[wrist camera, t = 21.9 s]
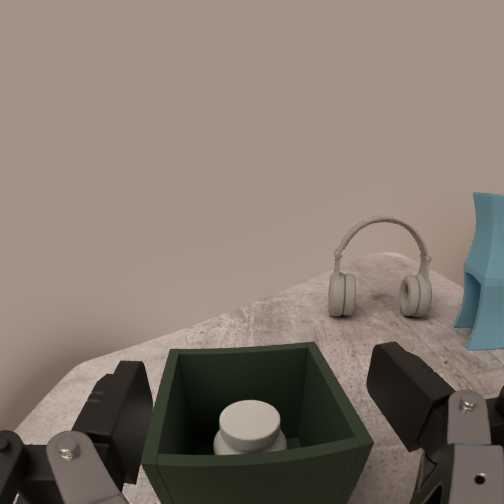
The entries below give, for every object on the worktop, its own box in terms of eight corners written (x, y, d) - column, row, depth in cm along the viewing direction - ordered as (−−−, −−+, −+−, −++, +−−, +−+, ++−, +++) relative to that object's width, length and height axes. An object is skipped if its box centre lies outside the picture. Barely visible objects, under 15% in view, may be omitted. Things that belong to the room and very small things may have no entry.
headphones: (416, 307, 55) (426, 216, 51) (428, 323, 47) (442, 221, 43) (327, 306, 59) (331, 212, 55) (328, 323, 51) (334, 216, 47)
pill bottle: (208, 477, 19) (194, 410, 18) (256, 453, 22) (256, 384, 21) (244, 517, 15) (239, 458, 13) (295, 486, 18) (306, 420, 16)
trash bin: (183, 539, 13) (140, 462, 10) (188, 443, 24) (169, 348, 22) (334, 526, 14) (374, 442, 12) (303, 436, 25) (314, 341, 23)
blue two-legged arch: (510, 348, 33) (537, 200, 28) (467, 350, 36) (493, 193, 31) (491, 325, 42) (510, 197, 37) (452, 325, 45) (469, 192, 40)
